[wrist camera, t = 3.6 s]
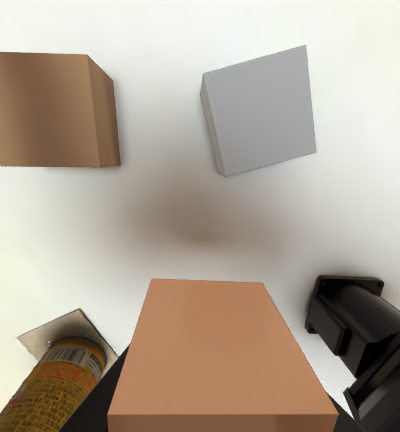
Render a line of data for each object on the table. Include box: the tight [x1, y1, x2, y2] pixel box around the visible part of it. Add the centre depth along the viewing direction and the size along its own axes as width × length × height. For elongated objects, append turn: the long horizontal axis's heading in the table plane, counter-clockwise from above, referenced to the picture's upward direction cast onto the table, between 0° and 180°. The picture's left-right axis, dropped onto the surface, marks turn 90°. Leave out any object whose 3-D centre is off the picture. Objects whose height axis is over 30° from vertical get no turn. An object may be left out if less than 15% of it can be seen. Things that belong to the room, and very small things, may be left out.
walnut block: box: [0, 52, 120, 167], centre depth 14 cm, size 6×6×4 cm
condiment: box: [0, 310, 118, 432], centre depth 15 cm, size 7×8×12 cm
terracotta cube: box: [107, 278, 339, 432], centre depth 7 cm, size 4×4×4 cm
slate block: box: [200, 45, 316, 176], centre depth 14 cm, size 6×6×4 cm
